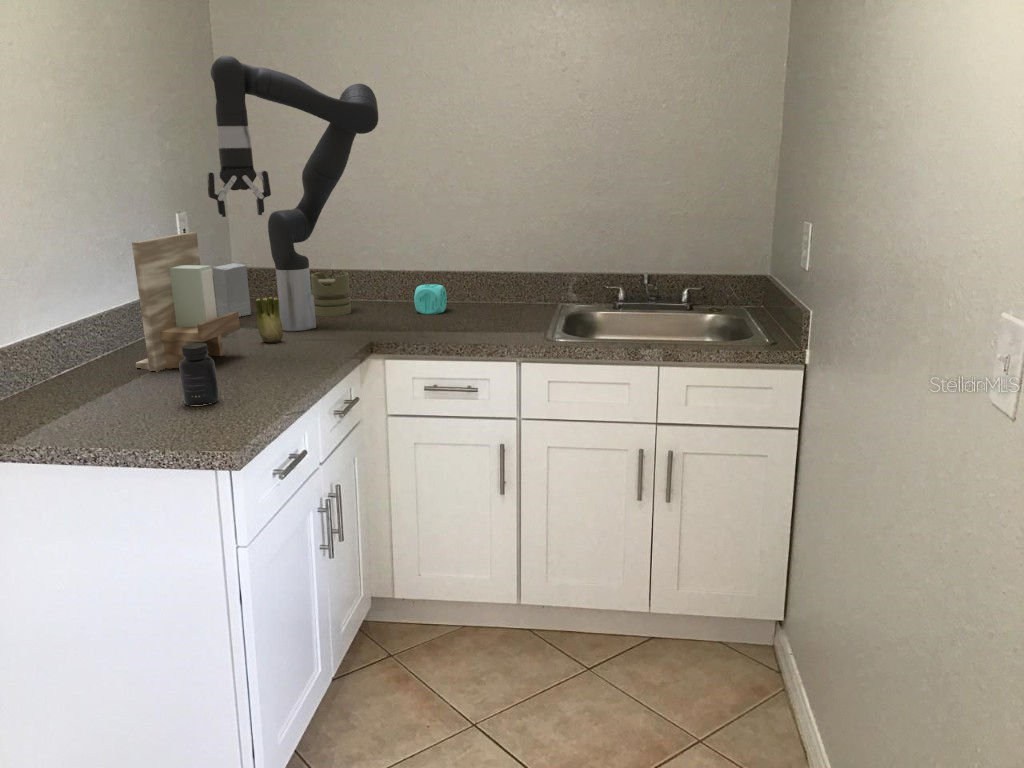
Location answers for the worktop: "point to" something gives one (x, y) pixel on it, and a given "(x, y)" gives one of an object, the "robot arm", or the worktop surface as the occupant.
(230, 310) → the skincare box
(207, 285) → the cabinet
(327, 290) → the piston
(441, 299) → the decorative dice
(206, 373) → the supplement bottle
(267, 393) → the worktop surface
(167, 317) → the wooden display stand
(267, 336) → the fennel bulb
